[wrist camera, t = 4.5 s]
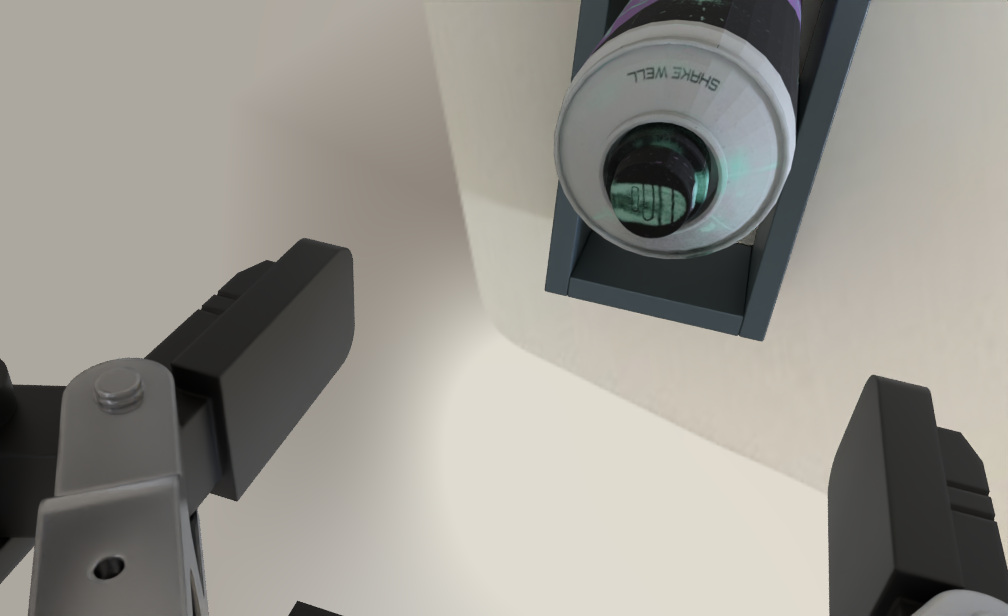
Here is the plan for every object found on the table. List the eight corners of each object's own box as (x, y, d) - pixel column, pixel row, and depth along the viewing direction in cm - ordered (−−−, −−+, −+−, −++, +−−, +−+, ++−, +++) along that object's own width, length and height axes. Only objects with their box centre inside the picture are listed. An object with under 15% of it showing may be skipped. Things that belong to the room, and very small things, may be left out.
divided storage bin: (575, 227, 41) (544, 291, 36) (631, -157, 32) (598, -140, 27) (769, 269, 39) (763, 342, 34) (888, -125, 30) (903, -100, 25)
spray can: (829, 4, 33) (844, 252, 17) (703, 78, 35) (612, 351, 19) (758, -126, 31) (699, 10, 15) (632, -37, 34) (470, 158, 18)
